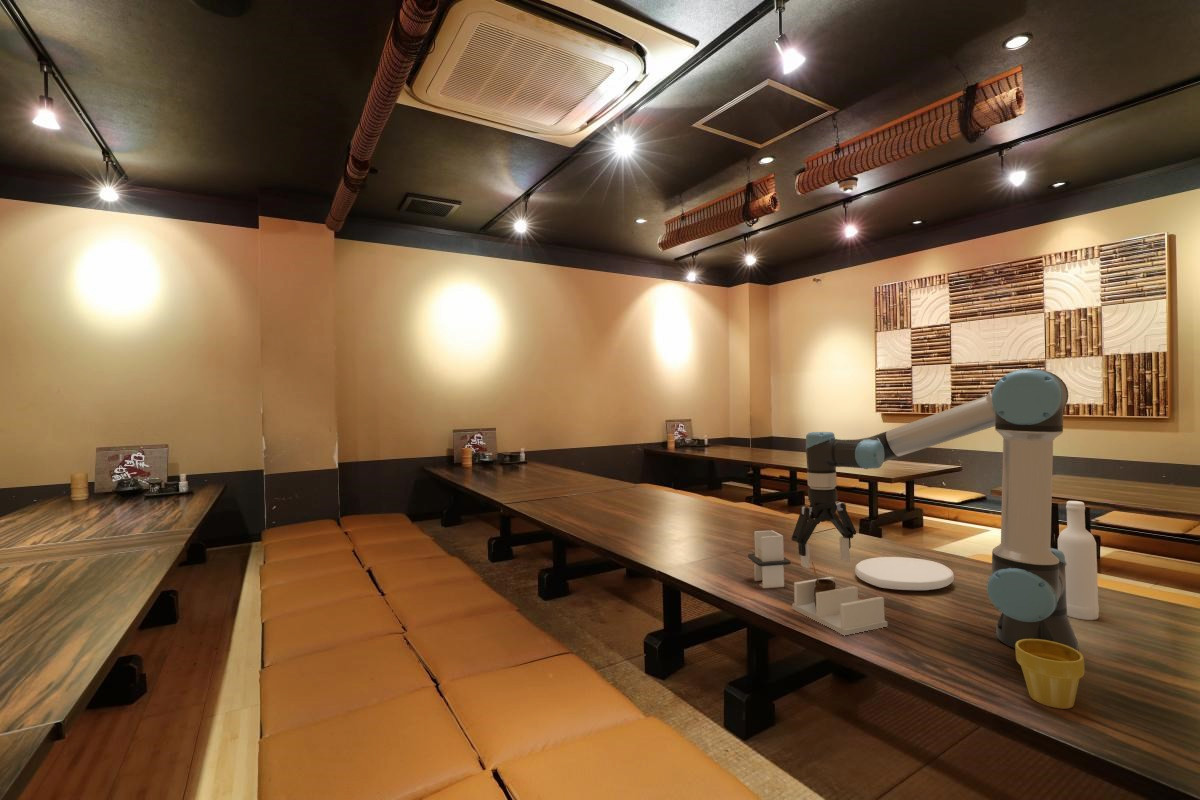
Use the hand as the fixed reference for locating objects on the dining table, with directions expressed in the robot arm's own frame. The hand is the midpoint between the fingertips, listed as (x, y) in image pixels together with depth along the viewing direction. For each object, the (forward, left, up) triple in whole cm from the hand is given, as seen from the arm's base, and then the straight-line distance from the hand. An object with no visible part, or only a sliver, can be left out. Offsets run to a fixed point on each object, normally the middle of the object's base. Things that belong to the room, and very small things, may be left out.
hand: (825, 564), depth 151 cm
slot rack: (-4, 0, -13) cm, 14 cm away
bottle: (-27, -59, -14) cm, 66 cm away
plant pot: (-51, -8, -14) cm, 53 cm away
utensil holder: (0, 0, -12) cm, 12 cm away
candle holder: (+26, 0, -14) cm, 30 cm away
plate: (+11, -40, -14) cm, 44 cm away
